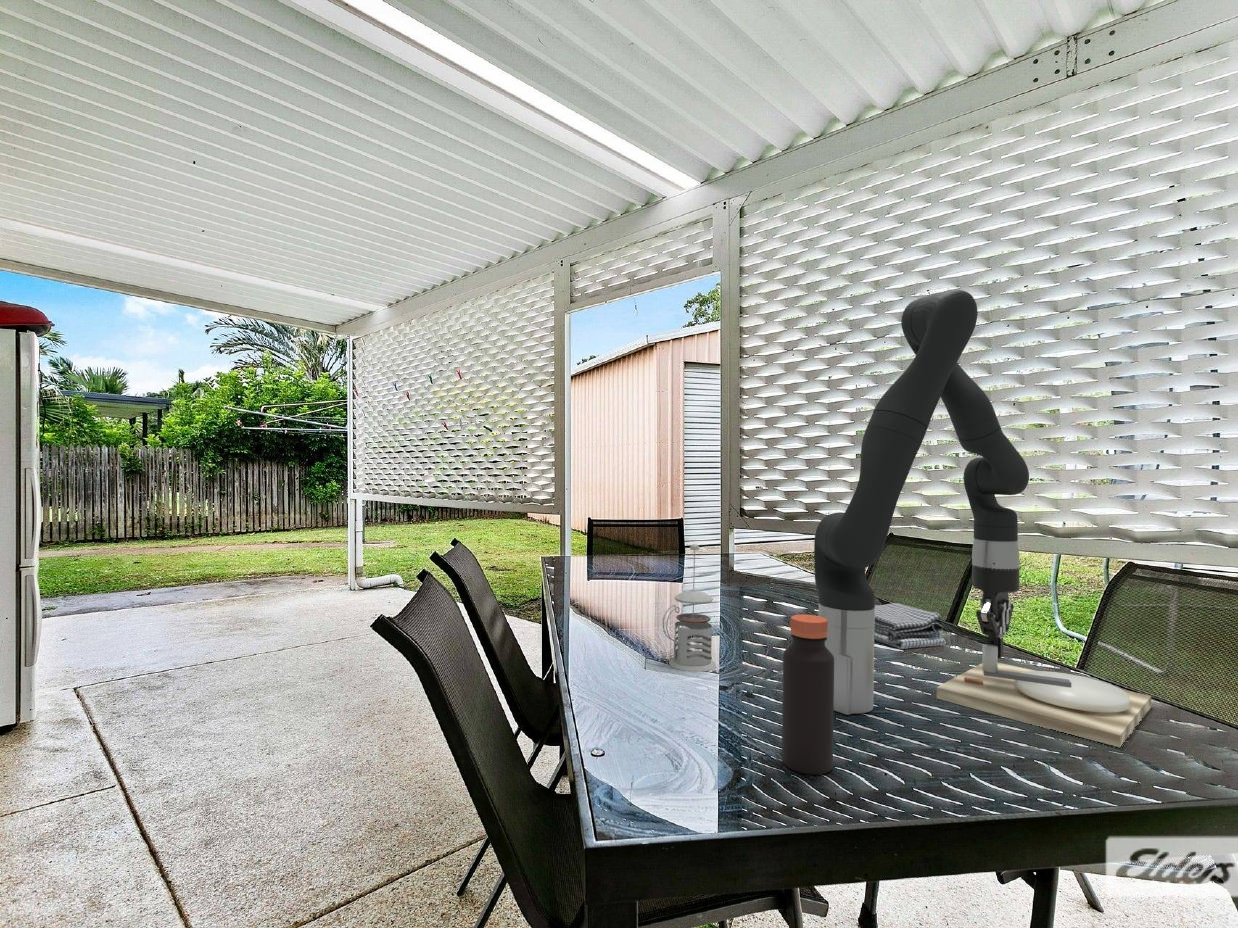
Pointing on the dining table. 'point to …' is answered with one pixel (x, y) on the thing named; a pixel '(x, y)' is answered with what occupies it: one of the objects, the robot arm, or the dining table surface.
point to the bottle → (808, 698)
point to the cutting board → (1041, 707)
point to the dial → (1060, 687)
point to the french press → (692, 632)
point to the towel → (907, 626)
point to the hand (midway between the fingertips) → (995, 656)
